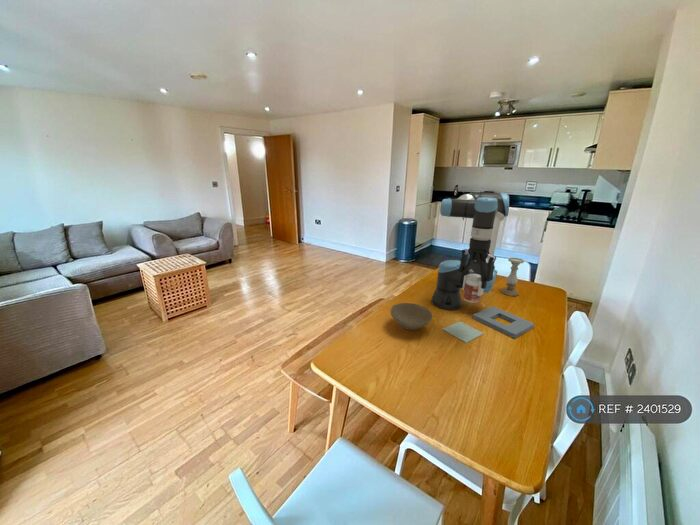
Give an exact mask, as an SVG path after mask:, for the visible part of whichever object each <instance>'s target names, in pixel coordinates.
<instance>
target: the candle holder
mask: <svg viewBox="0 0 700 525" xmlns="http://www.w3.org/2000/svg"><path fill="white" fill-rule="evenodd" d="M507 261H508V262H510V264H511V266H510V272H509V273H510V274H509V275H508V276H507V278H506V284H505V285H506V287H504V288H501V290H500V293H502V294H503V295H506V296H509V297H517V296H519V292H518V290H517V289H516V286H517V285H516V284H517V283H518V276H517V272H518V271H519V266H520V264H524V263H525V260H524V259H522V258H519V257H508V260H507Z"/></svg>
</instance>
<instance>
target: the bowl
mask: <svg viewBox="0 0 700 525" xmlns="http://www.w3.org/2000/svg"><path fill="white" fill-rule="evenodd" d="M389 311H390V314H391V317H392V319H393V320H395V322H397V324H399V325H400V326H401V327H403V328H404V329H407V330H410V331H415V330H419V329H421V328H422V327H424V326H427V325H428V324H430V322H431V321H433V320H432V319H433V313H432V311H431V310H430V309H428V308H426V307H425V306H423V305H420V304H416V303H408V302H401V303H397V304H394V305H392V307H391V308H390V310H389Z"/></svg>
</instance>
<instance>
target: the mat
mask: <svg viewBox="0 0 700 525" xmlns="http://www.w3.org/2000/svg"><path fill="white" fill-rule="evenodd" d="M442 330H443V331H444V332H446V333H447V334H450V335H451V336H453V337H454V338H456V339H458V340H460V341H462V342H463V343H464V344H467V343H469V342H471V341H473V340H475V339H477V338H479V337H481V336H483V335H484V332H481V331H480V330H478V329H476V328H473V327H472V326H470V325H468V324H466V323H464V322H463V321H457V322H455V323H452V324H450V325H449V326H446V327H444V328H442Z"/></svg>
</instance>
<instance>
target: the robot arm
mask: <svg viewBox="0 0 700 525" xmlns="http://www.w3.org/2000/svg"><path fill="white" fill-rule="evenodd" d="M439 208H440V209H439V213H440V215H441V216H442V217H447V218H449V217H452V218H464V219H473V220H472V225H471V231H470V239H469V248H465V249H462V250H461V258H460V260H458V259H447V260H444V261H442V262H440V263H439V265H438V269H437V280H436V287H435V290H434V292H433V294H432V295H431V296H432V297H431V303H433V304H434V305H433V304H432V305H433V306H435V307H437V308H439V309H443V310H446V311H452V310H453V311H455V310H458V309H459V310H460V308H461V307H462V305H463V301H462V300H463V299H462V297H461V291H465V284H466V280H467V279H469V278H468V276H469V274H478V275H480V276H481V280H480V282H479V288H478V294H477V296H480V297H481V296H482V295H484V293H485V294H488V293H490V292H492V290H493V287H494V284H495V283H496V282H495V281H496V278H497V276H498V270H496V269H495V268H496V266H495V262H496V260H497V256H495V251H496V245H497V240H498V234H499V229H500V224H501V222H503V221H504V220H505V218H506V217H508V216H509V211H510V210H509V209H510V195H509V194H507V193H505V192H498V193H497V192H479V191H477V192H476V191H475V192H470V193H465V194H462V195H460V196H459V197H458V198H443V199H442V201H441V203H440V207H439ZM468 257H469V258H468ZM461 289H462V290H461Z"/></svg>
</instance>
